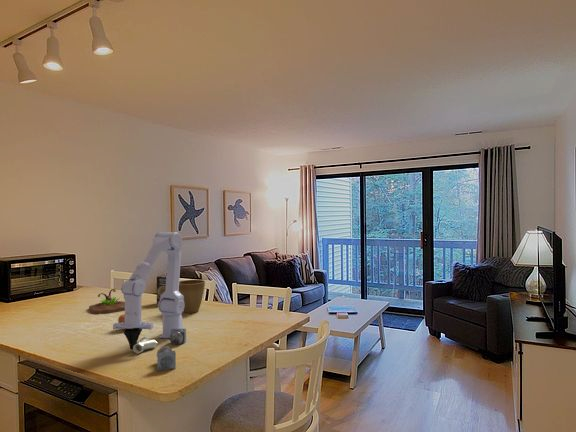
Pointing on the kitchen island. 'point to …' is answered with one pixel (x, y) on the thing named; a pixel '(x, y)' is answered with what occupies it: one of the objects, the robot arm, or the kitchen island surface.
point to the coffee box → (161, 287)
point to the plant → (108, 305)
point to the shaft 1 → (166, 359)
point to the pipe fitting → (144, 345)
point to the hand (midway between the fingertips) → (133, 348)
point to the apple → (121, 319)
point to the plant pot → (192, 294)
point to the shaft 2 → (178, 336)
